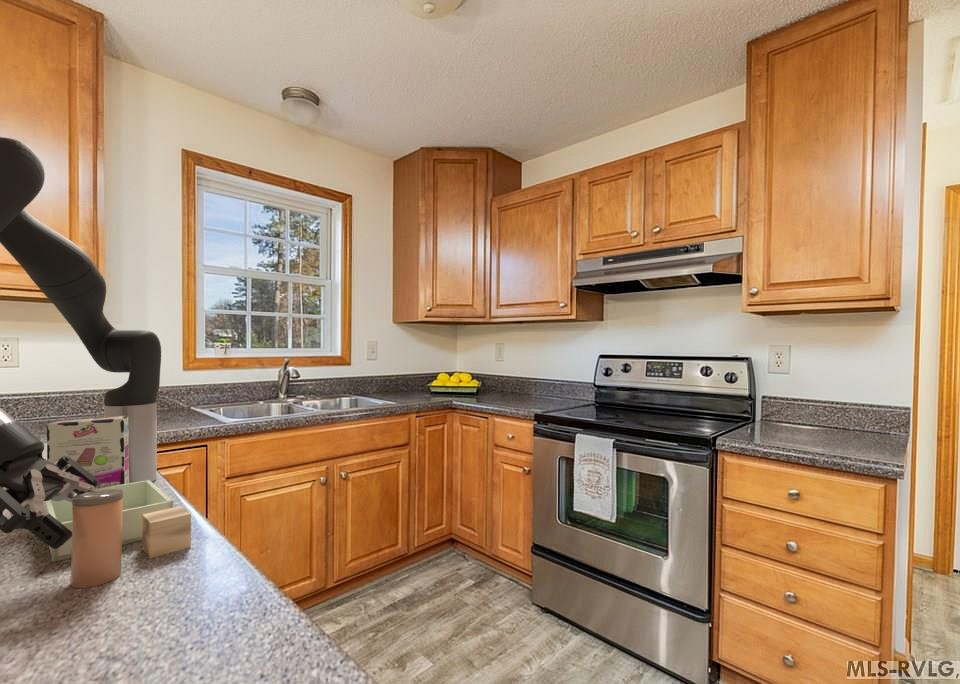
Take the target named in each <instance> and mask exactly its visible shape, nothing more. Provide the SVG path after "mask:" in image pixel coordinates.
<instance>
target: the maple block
mask: <svg viewBox="0 0 960 684" xmlns="http://www.w3.org/2000/svg"><path fill="white" fill-rule="evenodd" d="M191 514H192V513H191V512H189V510H187V509H185V507H183V506H182V505H180V506H176V507H175V506H173V508H170V509H165V510H161V511H156V512H151V513H147V514H142V540H141V541H142V544H141V545H142V548H141V549H143V551H144V552H145V553H146V555H147V556H148V558H149V559H152V558H156V557H160V555H161V556H163V554H164V555H168V554H171V553H170V552H172V553H175V552H178V550H179V551H182V550H185V549H184V548H186V549H188V548H187V547H190V548H192V545H191V542H192V522H191V521H192V517H191V516H192V515H191ZM181 549H182V550H181ZM174 551H175V552H174ZM167 553H168V554H167Z"/></svg>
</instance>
